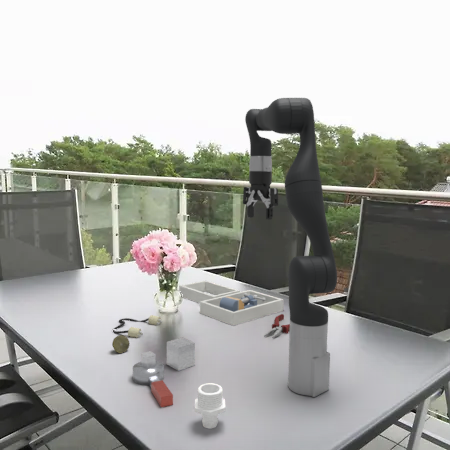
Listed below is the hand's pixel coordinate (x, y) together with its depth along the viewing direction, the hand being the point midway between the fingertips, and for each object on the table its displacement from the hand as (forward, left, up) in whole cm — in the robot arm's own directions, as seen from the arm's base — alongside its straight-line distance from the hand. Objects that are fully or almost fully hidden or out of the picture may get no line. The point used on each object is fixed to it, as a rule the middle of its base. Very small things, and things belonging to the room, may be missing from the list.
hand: (259, 218), depth 154 cm
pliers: (-7, -4, -38) cm, 39 cm away
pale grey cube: (-9, +39, -38) cm, 55 cm away
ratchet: (-15, +52, -38) cm, 66 cm away
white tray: (+14, -7, -38) cm, 41 cm away
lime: (+10, +47, -38) cm, 62 cm away
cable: (+26, +34, -38) cm, 58 cm away
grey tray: (+36, -9, -38) cm, 53 cm away
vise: (+15, -6, -38) cm, 41 cm away
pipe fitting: (-37, +52, -38) cm, 74 cm away
